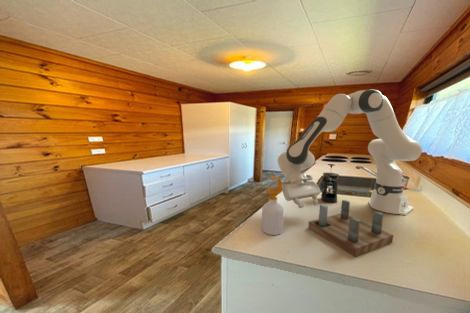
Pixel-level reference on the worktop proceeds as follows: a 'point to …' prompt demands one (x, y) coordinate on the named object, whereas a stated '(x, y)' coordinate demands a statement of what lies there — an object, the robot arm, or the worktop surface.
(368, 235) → the stool
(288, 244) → the worktop surface
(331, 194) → the french press
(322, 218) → the stool leg
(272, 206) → the white orange spray bottle
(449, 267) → the worktop surface
